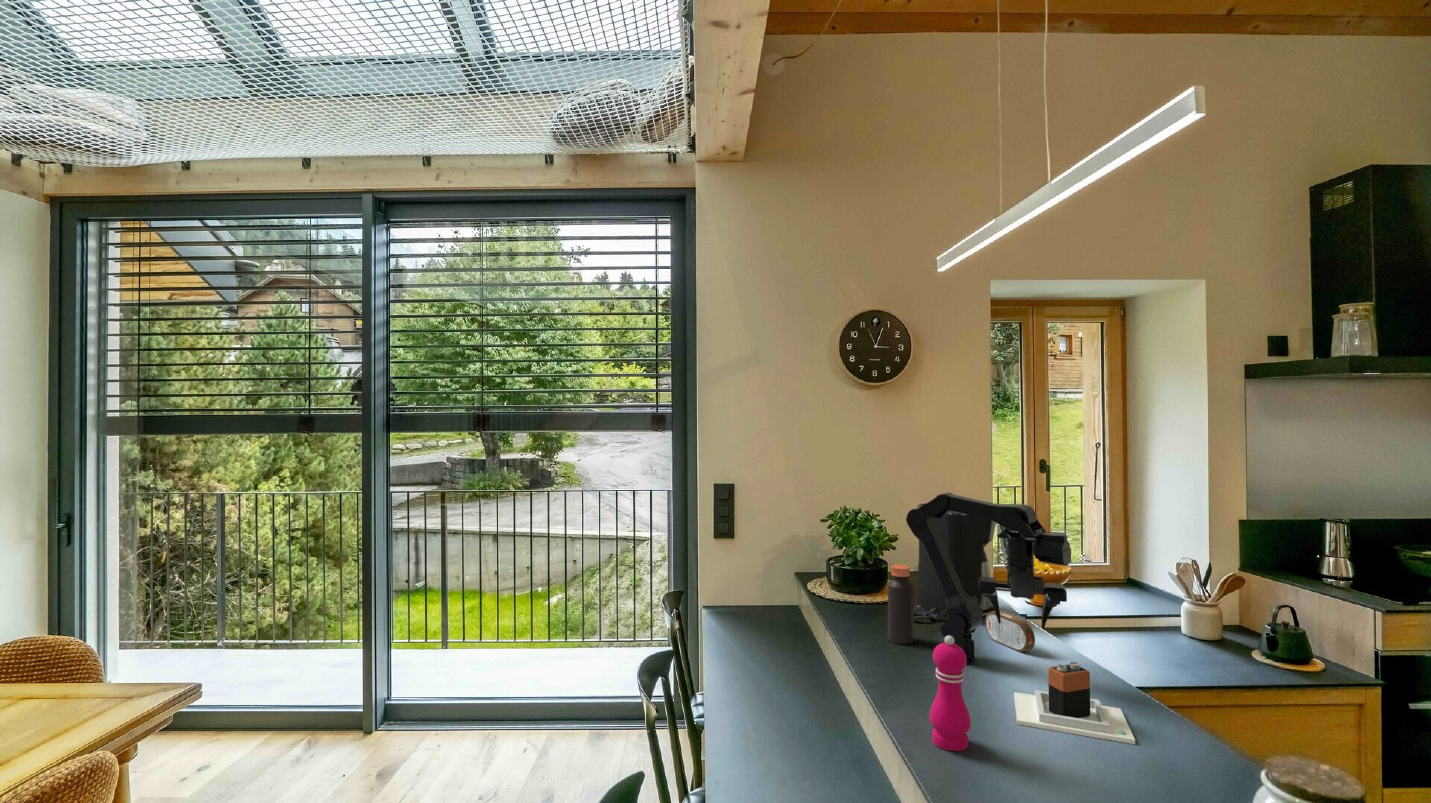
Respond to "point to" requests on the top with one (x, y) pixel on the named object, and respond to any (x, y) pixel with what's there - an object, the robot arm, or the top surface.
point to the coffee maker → (955, 564)
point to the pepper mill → (949, 698)
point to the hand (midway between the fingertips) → (1020, 625)
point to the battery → (1069, 690)
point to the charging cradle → (1097, 725)
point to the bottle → (900, 606)
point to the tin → (1010, 631)
